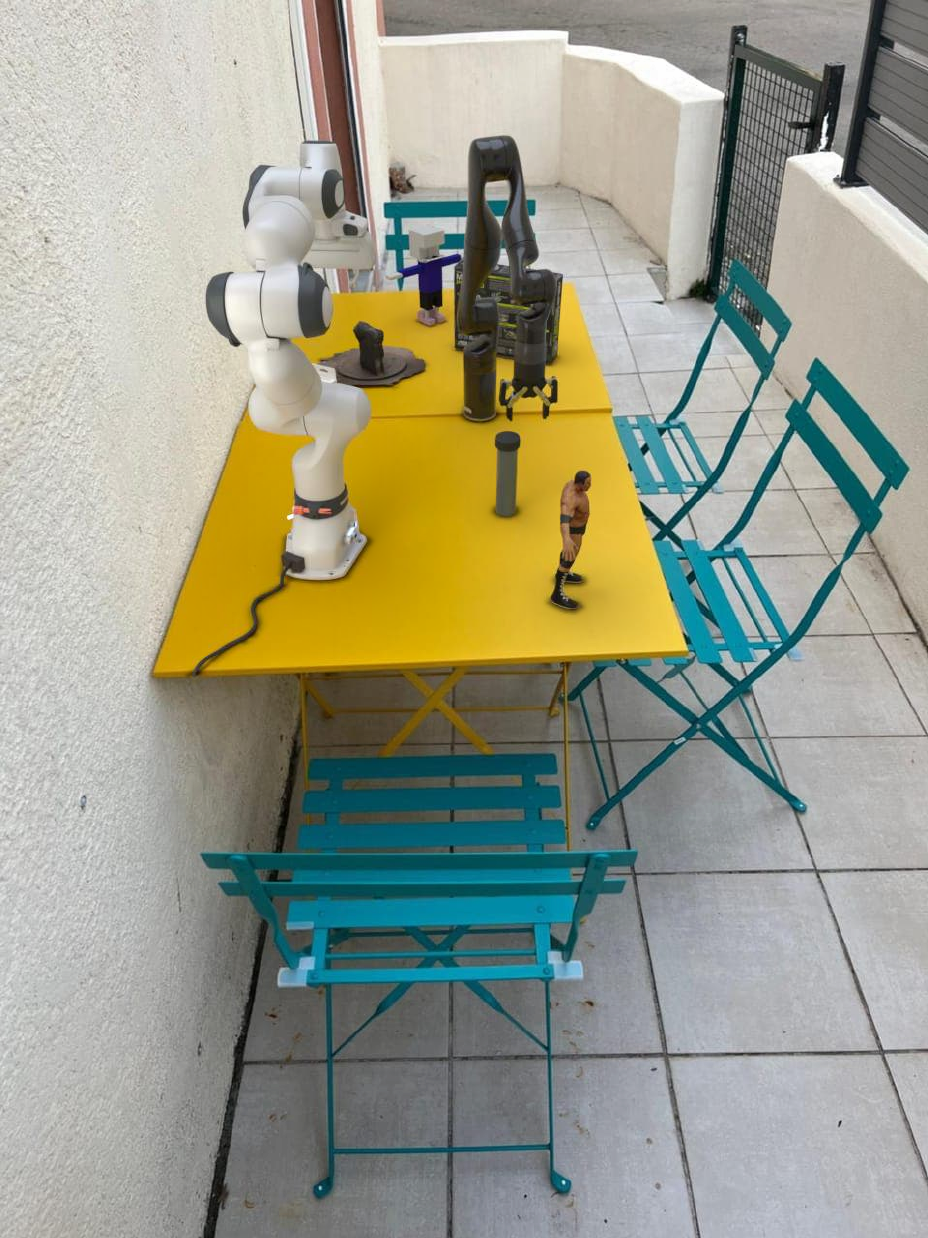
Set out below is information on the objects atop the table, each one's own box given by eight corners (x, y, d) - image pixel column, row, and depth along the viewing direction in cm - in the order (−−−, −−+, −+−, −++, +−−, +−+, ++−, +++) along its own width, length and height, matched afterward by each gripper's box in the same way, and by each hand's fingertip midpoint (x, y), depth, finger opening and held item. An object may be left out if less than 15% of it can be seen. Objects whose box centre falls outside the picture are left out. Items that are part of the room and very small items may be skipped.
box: (558, 356, 284) (564, 271, 267) (551, 365, 279) (556, 279, 262) (462, 341, 294) (461, 258, 277) (453, 349, 289) (452, 265, 271)
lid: (521, 439, 207) (521, 431, 205) (519, 452, 202) (520, 443, 201) (495, 438, 207) (495, 430, 206) (493, 451, 203) (494, 442, 201)
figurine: (575, 629, 182) (588, 506, 163) (545, 625, 183) (554, 502, 164) (587, 560, 200) (599, 442, 181) (559, 557, 201) (568, 439, 182)
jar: (516, 505, 218) (519, 433, 205) (515, 516, 214) (517, 444, 201) (496, 504, 218) (497, 433, 206) (494, 515, 215) (496, 443, 202)
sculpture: (406, 397, 263) (403, 345, 252) (297, 384, 270) (290, 333, 259) (437, 352, 287) (436, 303, 277) (336, 341, 294) (331, 293, 284)
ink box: (306, 417, 253) (300, 368, 244) (316, 410, 257) (310, 362, 247) (331, 424, 250) (326, 375, 241) (341, 416, 254) (336, 368, 244)
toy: (460, 304, 319) (459, 216, 299) (477, 312, 313) (477, 222, 294) (381, 329, 302) (375, 237, 283) (398, 337, 296) (393, 244, 277)
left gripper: (275, 226, 189) (284, 291, 198) (369, 228, 187) (374, 293, 196) (282, 217, 194) (290, 281, 203) (374, 219, 192) (379, 283, 201)
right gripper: (556, 348, 213) (552, 410, 224) (498, 351, 212) (496, 413, 223) (562, 361, 208) (558, 424, 218) (502, 364, 206) (501, 427, 217)
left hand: (332, 287), depth 199 cm, fingers open, 8 cm apart
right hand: (527, 418), depth 220 cm, fingers open, 8 cm apart
